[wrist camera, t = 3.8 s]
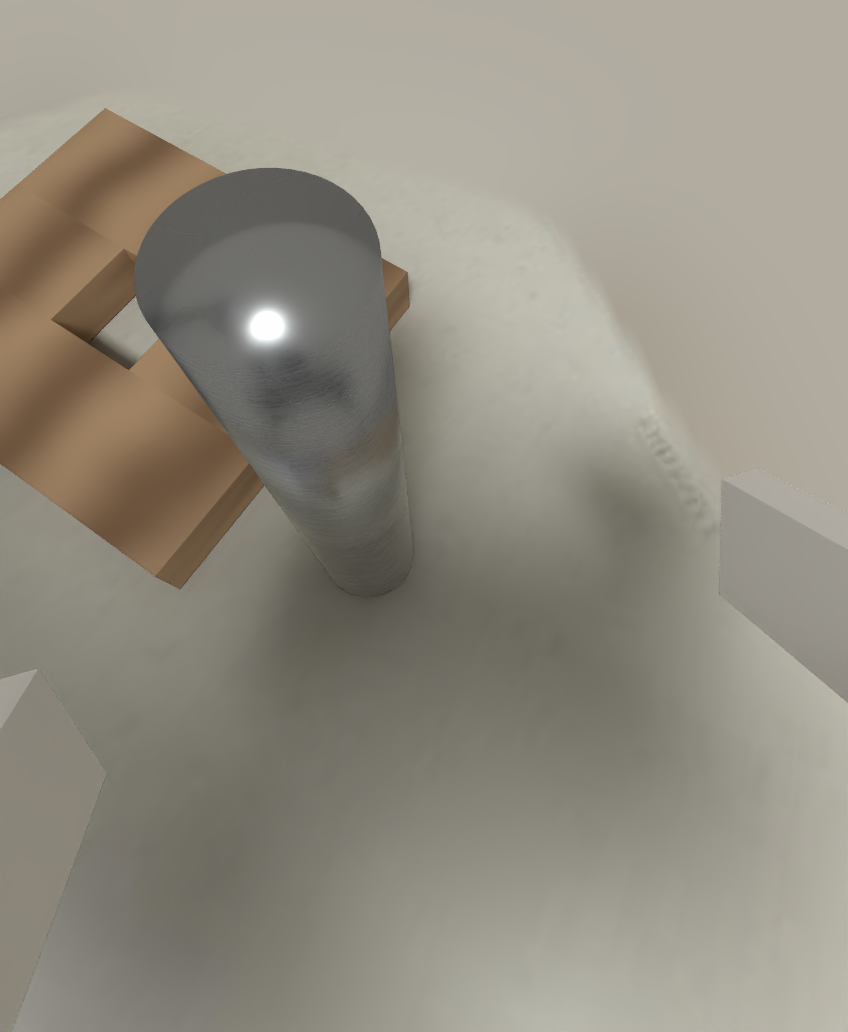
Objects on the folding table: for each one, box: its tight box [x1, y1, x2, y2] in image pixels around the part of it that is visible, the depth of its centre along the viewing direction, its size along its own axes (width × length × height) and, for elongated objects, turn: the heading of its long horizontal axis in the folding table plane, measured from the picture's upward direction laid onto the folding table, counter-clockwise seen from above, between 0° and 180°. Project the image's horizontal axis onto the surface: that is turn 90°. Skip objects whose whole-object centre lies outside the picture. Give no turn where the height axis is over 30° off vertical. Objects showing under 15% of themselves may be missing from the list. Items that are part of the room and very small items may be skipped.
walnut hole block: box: [0, 108, 409, 589], centre depth 29 cm, size 20×18×2 cm
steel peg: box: [134, 168, 413, 597], centre depth 18 cm, size 4×4×18 cm
